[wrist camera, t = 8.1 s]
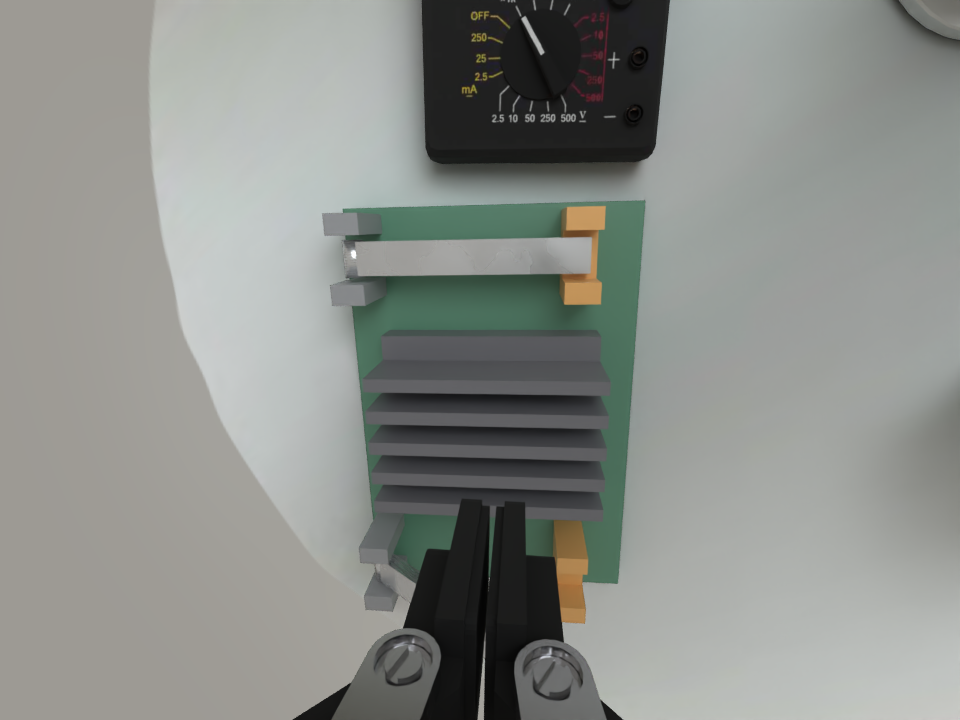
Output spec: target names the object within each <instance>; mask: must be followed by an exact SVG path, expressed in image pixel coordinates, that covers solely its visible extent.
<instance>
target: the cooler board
mask: <svg viewBox="0 0 960 720" xmlns="http://www.w3.org/2000/svg"><path fill="white" fill-rule="evenodd" d="M644 211H645V201H610V202H574V203H537V204H501V205H465V206H429V207H393V208H356V209H343V213H323V214H322V217H323V226H324V235H325V236H335V235H345V237H346V240H363V241H402V240H452V239H502V238H552V237H592V250H591V273H590V274H506V275H423V276H366V277H363V278H350V280H346V281H343V282H340V283H337V284H333V285H330V289H331V299H332V306H352V308H353V318H354V328H355V339H356V349H357V359H358V369H359V379H360V390H361V400H362V410H363V420H364V430H365V441H366V451H367V461H368V471H369V481H370V492H371V502H372V512H373V522H372V524H371V526H370V528H369V530H368V532H367V534H366V536H365V538H364V540H363V541H362V543H361V545H360V547H359V553H360V563H372V564H389V562H390V560H391V557H392V555H393V554H395V555H396V556H398V557H399V558H401V559H402V560H404V561H405V562H407V563H408V564H410V565H411V566H413V567H414V568H416V569H417V570H419V571H420V570H421V567H422V563H423V560H424V557H425V553H426V551H427V549H444V550H450V547H451V543H452V539H453V534H454V530H455V525H456V521H457V516H458V512H459V507H460V503H461V499H480V500H482V505H486V506H490V538H489V577H490V570H491V559H492V548H493V537H494V526H495V515H496V506H503V507H504V504H505V501H515V502H525V521H526V555H534V556H549V557H555V562H556V571H557V581H558V591H559V600H560V610H561V620H562V622H568V623H584V624H585V614H586V608H585V601H584V594H583V587H582V582H596V583H615V584H618V575H619V561H620V547H621V533H622V519H623V505H624V491H625V477H626V463H627V449H628V435H629V421H630V407H631V393H632V379H633V365H634V351H635V337H636V323H637V309H638V295H639V281H640V267H641V253H642V239H643V225H644ZM397 598H398V594H397V593H396V592H394V591H393V590H392V589H390V588H389V587H388V586H386V585H385V584H384V583H379V582H377V580H376V574H375V573H374V575H373V577H372V580H371V582H370V584H369V586H368V589H367V591H366V593H365V595H364V599H365V608H366V610H378V611H393V609H394V607H395V604H396V601H397Z"/></svg>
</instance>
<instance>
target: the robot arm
mask: <svg viewBox="0 0 960 720" xmlns="http://www.w3.org/2000/svg"><path fill="white" fill-rule="evenodd" d="M899 1H900V2H901V4H902V5H903V6H904V8H905V9H906V10H907V12H908V13H909V14H910V15H911V16H912V17H913V18H915V19H916V20H917V21H918V22H919V23H921V24H922V25H923V26H924V27H925V28H927V29H929V30H932V31H934V32H936V33H938V34H940V35H942V36H944V37H948V38H953V39H957V40H960V0H899ZM489 538H490V506H486V505H482V500H480V499H461V503H460V507H459V512H458V516H457V521H456V525H455V530H454V534H453V539H452V543H451V547H450V550H444V549H427V551H426V553H425V557H424V560H423V563H422V567H421V570H420V573H419V577H418V580H417V583H416V587H415V590H414V593H413V597H412V600H411V603H410V607H409V610H408V613H407V617H406V620H405V623H404V627H403V629H399V630H394V631H392V632H390V633H387V634H385V635H384V636H382V637H381V638H380V639H379V640H377V641H376V642H375V643H374V645H373V646H372V647H371V649H370V650H369V651H368V653H367V655H366V657H365V659H364V661H363V663H362V664H361V666H360V668H359V670H358V672H357V674H356V675H355V677H354V679H353V681H352V682H351V683H350V684H348V685H347V686H345V687H344V688H342V689H340V690H339V691H337V692H336V693H334V694H333V695H331V696H329V697H328V698H326V699H324V700H323V701H321V702H320V703H318V704H317V705H315V706H314V707H312V708H310V709H309V710H307V711H306V712H304V713H302V714H301V715H299V716H298V717H296V718H295V719H293V720H477V719H478V708H479V707H478V706H479V697H480V685H481V674H482V663H483V652H484V641H485V691H484V692H485V693H484V694H485V695H484V720H623V719H622V718H621V717H619V716H618V715H617V714H616V713H615V712H614V711H613V710H612V709H610V708H609V707H608V706H607V705H606V704H605V703H604V702H603V701H602V700H600V698H599V695H598V691H597V688H596V685H595V682H594V679H593V676H592V673H591V670H590V668H589V666H588V664H587V662H586V660H585V658H584V657H583V656H582V655H581V654H580V653H579V652H578V651H577V650H576V649H574V648H573V647H571V646H570V645H568V644H566V643H564V639H563V629H562V620H561V610H560V600H559V591H558V581H557V571H556V562H555V557H549V556H534V555H526V521H525V502H515V501H505V504H504V507H503V506H496V515H495V526H494V537H493V548H492V559H491V570H490V581H489ZM488 590H489V592H488ZM485 630H486V635H485Z"/></svg>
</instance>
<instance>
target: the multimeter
mask: <svg viewBox="0 0 960 720" xmlns="http://www.w3.org/2000/svg"><path fill="white" fill-rule="evenodd" d="M669 4H670V0H422V28H423V66H424V104H425V142H426V150H427V153H428V156H429V157H430V159H431V160H432V161H435V162H438V163H441V164H470V163H582V162H637V161H641V160H644V159H647V158H648V157H649V156H650V155H651V154H652V153H653V150H654V148H655V145H656V136H657V126H658V116H659V105H660V95H661V85H662V75H663V65H664V55H665V44H666V34H667V24H668V14H669Z"/></svg>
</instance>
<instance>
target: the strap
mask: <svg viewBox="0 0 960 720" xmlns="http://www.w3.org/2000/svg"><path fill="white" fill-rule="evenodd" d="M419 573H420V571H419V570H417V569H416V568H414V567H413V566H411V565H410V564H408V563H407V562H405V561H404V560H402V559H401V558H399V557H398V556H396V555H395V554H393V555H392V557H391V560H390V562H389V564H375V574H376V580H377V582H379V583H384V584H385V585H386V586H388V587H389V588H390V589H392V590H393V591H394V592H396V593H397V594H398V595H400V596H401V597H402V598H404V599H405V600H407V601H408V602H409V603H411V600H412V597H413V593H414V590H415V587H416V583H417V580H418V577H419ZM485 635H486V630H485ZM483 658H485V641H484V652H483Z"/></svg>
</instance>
